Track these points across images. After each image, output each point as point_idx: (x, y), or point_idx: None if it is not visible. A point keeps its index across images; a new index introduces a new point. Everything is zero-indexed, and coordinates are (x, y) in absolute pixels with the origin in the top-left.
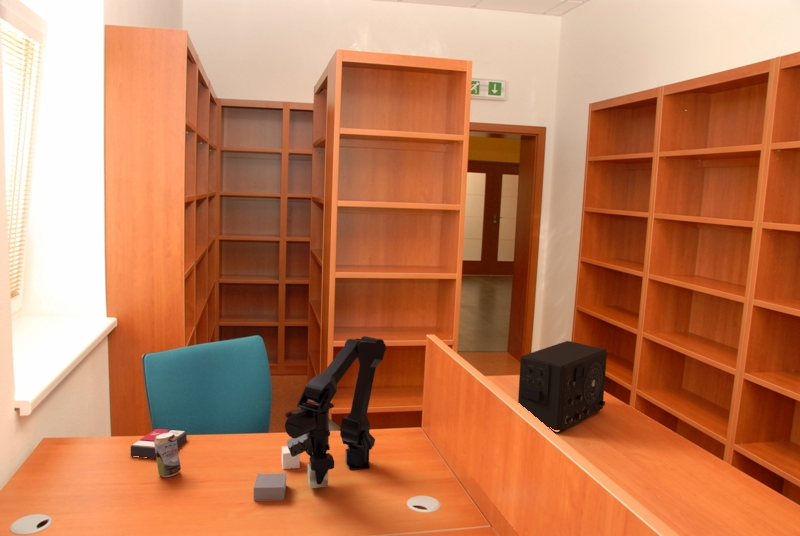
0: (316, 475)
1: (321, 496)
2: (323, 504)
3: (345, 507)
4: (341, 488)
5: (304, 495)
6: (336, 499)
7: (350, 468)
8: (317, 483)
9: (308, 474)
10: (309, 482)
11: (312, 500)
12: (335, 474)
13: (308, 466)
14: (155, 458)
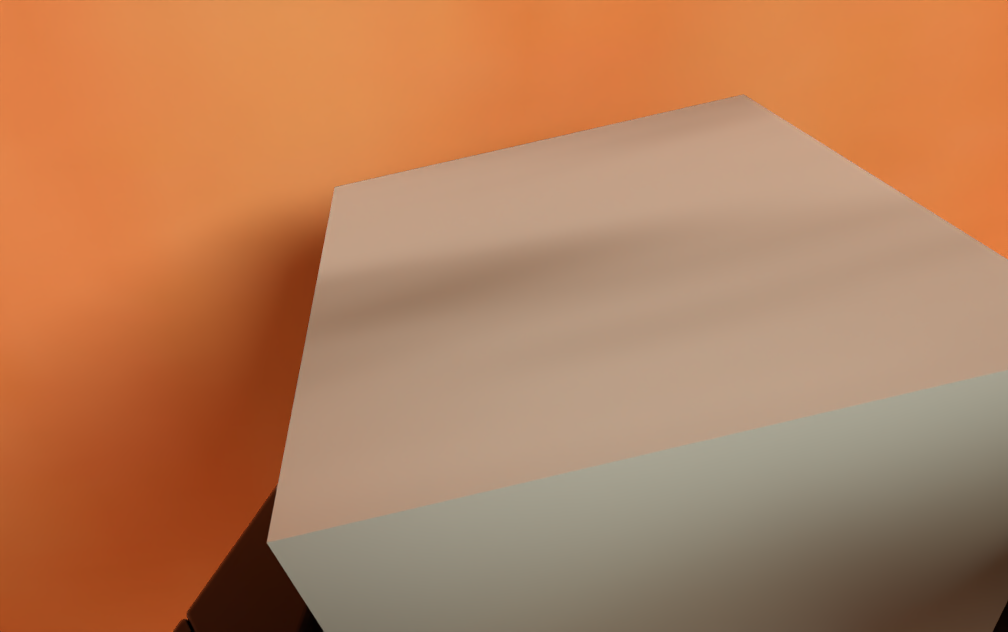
0: (199, 619)
1: (265, 343)
2: (3, 399)
3: (35, 617)
4: None
5: (245, 38)
6: (217, 519)
7: None
8: None
9: (669, 217)
10: (404, 218)
11: (78, 221)
12: None
13: (837, 374)
14: None
